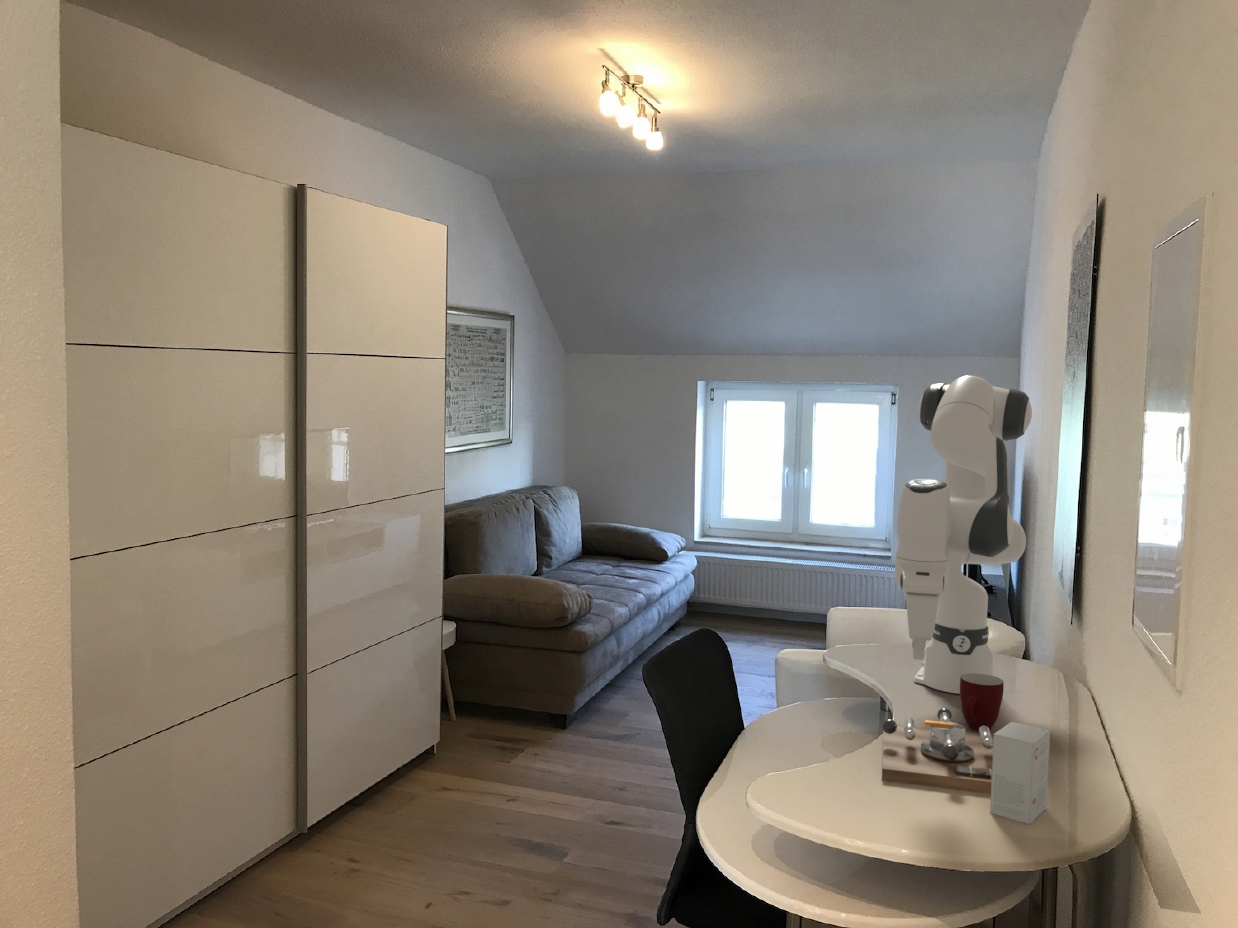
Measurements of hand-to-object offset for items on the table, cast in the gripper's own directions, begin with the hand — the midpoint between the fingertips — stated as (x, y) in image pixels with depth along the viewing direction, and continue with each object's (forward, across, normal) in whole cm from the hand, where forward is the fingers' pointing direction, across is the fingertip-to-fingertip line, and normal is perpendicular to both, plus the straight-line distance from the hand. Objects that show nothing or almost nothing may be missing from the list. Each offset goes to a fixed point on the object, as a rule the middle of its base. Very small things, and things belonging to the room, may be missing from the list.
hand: (917, 653), depth 171 cm
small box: (+21, +11, +16) cm, 29 cm away
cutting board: (+21, -7, +6) cm, 23 cm away
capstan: (+19, -7, +6) cm, 21 cm away
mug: (+21, -27, +13) cm, 37 cm away
